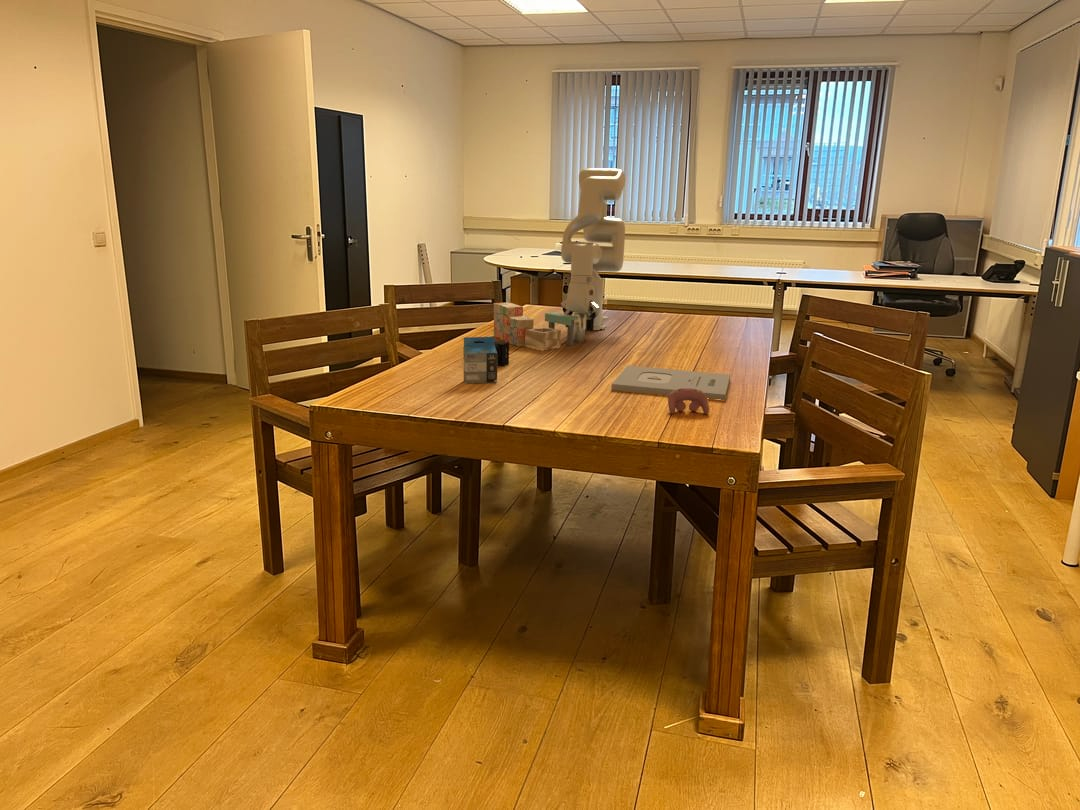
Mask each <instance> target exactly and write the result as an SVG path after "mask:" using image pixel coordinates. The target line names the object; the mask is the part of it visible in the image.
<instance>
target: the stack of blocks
mask: <svg viewBox="0 0 1080 810" xmlns="http://www.w3.org/2000/svg"><path fill="white" fill-rule="evenodd" d="M534 323H535V322H534V318H531V317H528V316H526V315H524V307H523V306H522V305H518V304H515V303H512V302H494V303H493V337H495V336H496V337H495V338H497V337H498V338H497V339H499V338H500V339H499V340H501V339H502V340H501V341H503V340H505V341H504V342H506V341H507V342H509V345H513V346H514V345H515V346H514V347H525V330H527V329H534Z"/></svg>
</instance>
